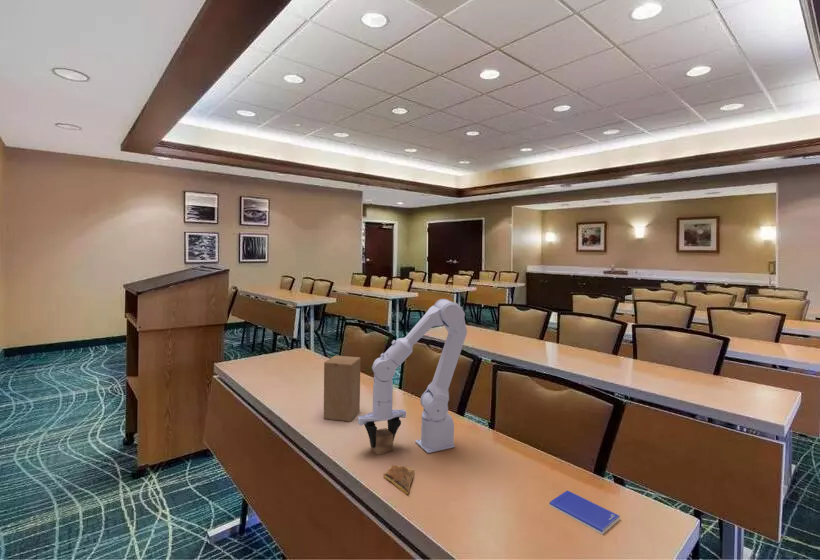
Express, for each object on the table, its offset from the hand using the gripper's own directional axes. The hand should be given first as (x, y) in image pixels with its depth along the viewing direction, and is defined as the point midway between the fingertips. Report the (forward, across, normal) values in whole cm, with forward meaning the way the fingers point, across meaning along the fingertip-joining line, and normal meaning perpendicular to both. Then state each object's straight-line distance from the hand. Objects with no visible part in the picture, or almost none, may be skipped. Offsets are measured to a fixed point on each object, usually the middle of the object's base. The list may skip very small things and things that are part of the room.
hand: (381, 444), depth 120 cm
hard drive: (+2, -30, +46) cm, 55 cm away
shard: (+2, +1, +17) cm, 17 cm away
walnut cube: (+1, 0, 0) cm, 1 cm away
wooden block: (+2, +3, -29) cm, 29 cm away
